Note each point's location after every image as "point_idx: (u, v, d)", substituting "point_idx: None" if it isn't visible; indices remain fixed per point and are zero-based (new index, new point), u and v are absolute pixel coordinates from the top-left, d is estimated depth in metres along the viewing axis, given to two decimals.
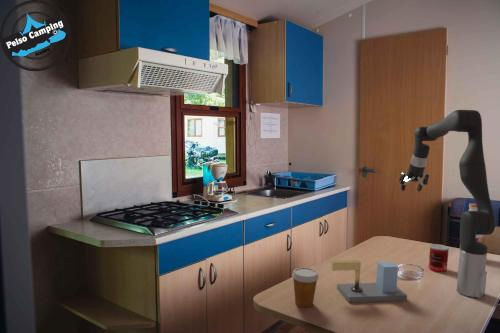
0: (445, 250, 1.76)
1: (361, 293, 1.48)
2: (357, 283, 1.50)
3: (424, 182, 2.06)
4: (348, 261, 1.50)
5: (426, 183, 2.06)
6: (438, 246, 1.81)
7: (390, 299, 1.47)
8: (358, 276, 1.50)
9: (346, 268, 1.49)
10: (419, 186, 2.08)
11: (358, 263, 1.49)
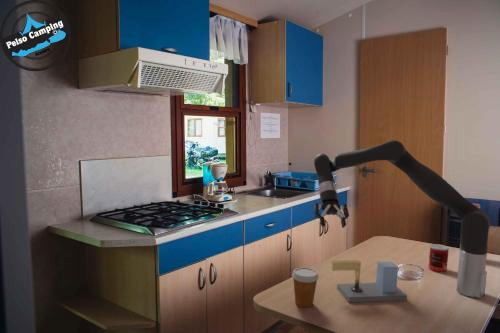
0: (445, 250, 1.76)
1: (361, 293, 1.48)
2: (357, 283, 1.50)
3: (345, 214, 1.67)
4: (348, 261, 1.50)
5: (348, 214, 1.66)
6: (438, 246, 1.81)
7: (390, 299, 1.47)
8: (358, 276, 1.50)
9: (346, 268, 1.49)
10: (342, 220, 1.65)
11: (358, 263, 1.49)
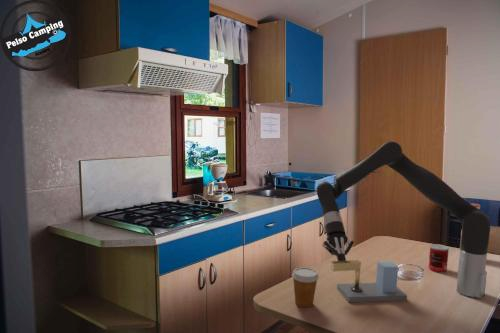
0: (445, 250, 1.76)
1: (361, 293, 1.48)
2: (358, 283, 1.50)
3: None
4: (348, 261, 1.49)
5: (348, 251, 1.54)
6: (438, 246, 1.81)
7: (390, 299, 1.47)
8: (358, 276, 1.50)
9: (347, 268, 1.48)
10: None
11: (358, 263, 1.49)
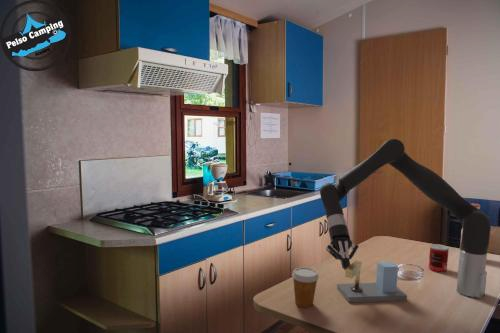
0: (445, 250, 1.76)
1: (361, 293, 1.48)
2: None
3: (350, 254, 1.50)
4: (354, 264, 1.47)
5: (352, 255, 1.49)
6: (438, 246, 1.81)
7: (390, 299, 1.47)
8: (359, 276, 1.50)
9: (356, 271, 1.46)
10: None
11: (361, 263, 1.49)
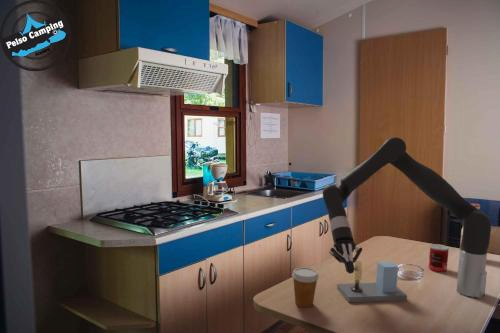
0: (445, 250, 1.76)
1: (361, 293, 1.48)
2: None
3: (354, 257, 1.46)
4: (358, 264, 1.46)
5: (356, 258, 1.45)
6: (438, 246, 1.81)
7: (390, 299, 1.47)
8: None
9: None
10: None
11: None
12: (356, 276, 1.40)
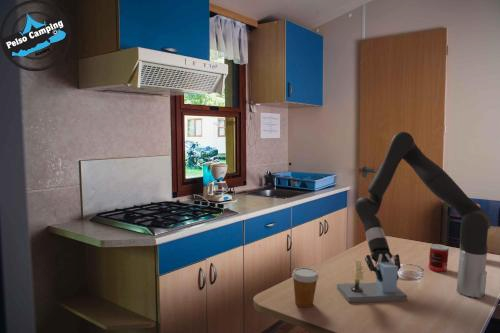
0: (445, 250, 1.76)
1: (361, 293, 1.48)
2: None
3: (396, 265, 1.54)
4: (358, 264, 1.46)
5: (399, 266, 1.54)
6: (438, 246, 1.81)
7: (390, 299, 1.47)
8: None
9: None
10: None
11: None
12: (357, 276, 1.40)
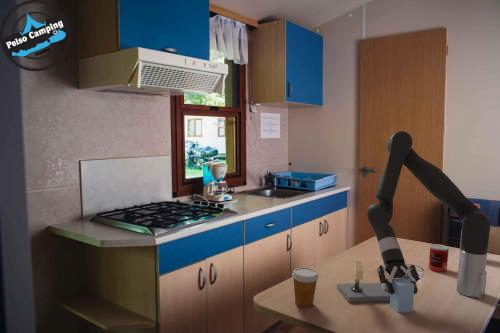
0: (445, 250, 1.76)
1: (361, 293, 1.48)
2: None
3: (415, 277, 1.43)
4: (358, 264, 1.46)
5: (418, 278, 1.42)
6: (438, 246, 1.81)
7: None
8: None
9: None
10: None
11: None
12: (357, 276, 1.40)
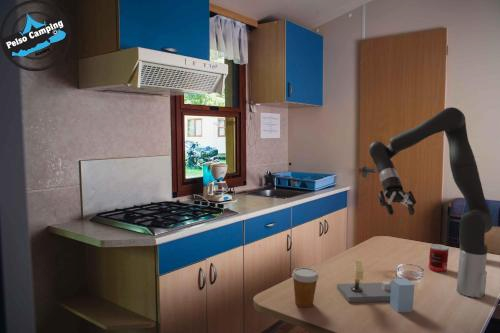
0: (445, 250, 1.76)
1: (361, 293, 1.48)
2: None
3: (412, 201, 1.59)
4: (358, 264, 1.46)
5: (415, 201, 1.59)
6: (438, 246, 1.81)
7: None
8: None
9: None
10: (409, 207, 1.57)
11: None
12: (357, 276, 1.40)
